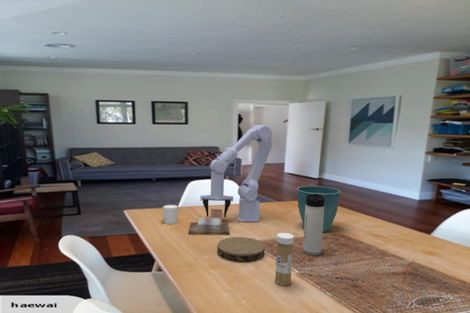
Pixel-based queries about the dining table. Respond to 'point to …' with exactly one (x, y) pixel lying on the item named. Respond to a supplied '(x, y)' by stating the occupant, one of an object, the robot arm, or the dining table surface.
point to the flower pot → (329, 203)
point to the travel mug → (313, 224)
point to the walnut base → (200, 232)
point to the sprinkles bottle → (284, 258)
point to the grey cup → (170, 214)
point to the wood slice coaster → (240, 249)
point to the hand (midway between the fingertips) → (216, 216)
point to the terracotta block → (216, 214)
